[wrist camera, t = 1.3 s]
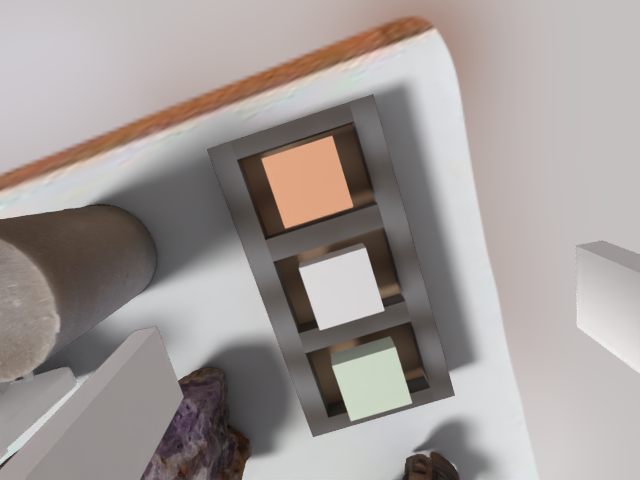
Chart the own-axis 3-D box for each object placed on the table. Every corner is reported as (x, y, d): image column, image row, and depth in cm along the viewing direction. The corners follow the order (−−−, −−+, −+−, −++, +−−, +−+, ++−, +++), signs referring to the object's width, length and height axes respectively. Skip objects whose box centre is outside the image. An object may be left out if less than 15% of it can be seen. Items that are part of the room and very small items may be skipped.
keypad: (441, 374, 37) (454, 395, 33) (313, 412, 37) (313, 437, 34) (366, 102, 32) (373, 94, 28) (218, 151, 32) (206, 149, 29)
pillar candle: (51, 200, 33) (-163, 224, 18) (158, 207, 33) (34, 236, 18) (59, 300, 34) (-130, 396, 20) (160, 306, 35) (48, 405, 20)
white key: (380, 301, 31) (384, 310, 29) (319, 320, 31) (320, 330, 29) (362, 242, 30) (365, 247, 28) (299, 262, 30) (298, 268, 28)
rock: (244, 357, 37) (144, 368, 37) (224, 397, 29) (92, 412, 28) (256, 470, 38) (157, 481, 38) (240, 544, 29) (109, 560, 29)
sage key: (406, 389, 33) (412, 403, 31) (348, 406, 33) (350, 421, 31) (390, 336, 32) (395, 347, 30) (330, 354, 32) (332, 366, 30)
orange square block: (350, 204, 30) (353, 207, 28) (286, 224, 30) (285, 228, 28) (330, 138, 28) (332, 135, 26) (264, 159, 29) (261, 158, 27)
